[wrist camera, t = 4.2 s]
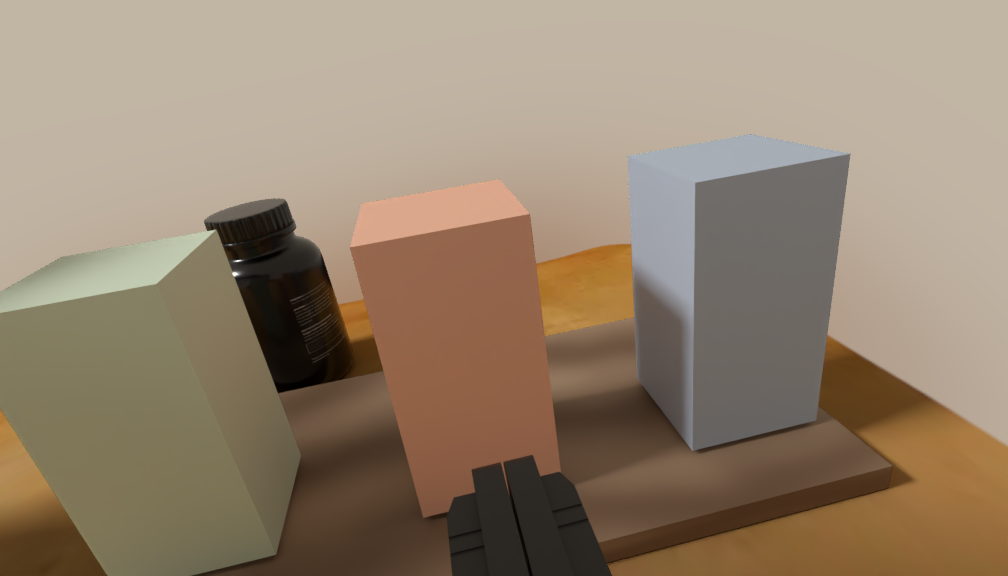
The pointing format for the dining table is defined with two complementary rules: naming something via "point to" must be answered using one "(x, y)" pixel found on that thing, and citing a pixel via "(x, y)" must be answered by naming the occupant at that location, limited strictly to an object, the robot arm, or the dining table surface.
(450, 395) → the terracotta block
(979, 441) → the dining table surface
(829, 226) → the slate block
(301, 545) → the wooden board
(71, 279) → the sage block
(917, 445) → the dining table surface
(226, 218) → the supplement bottle
